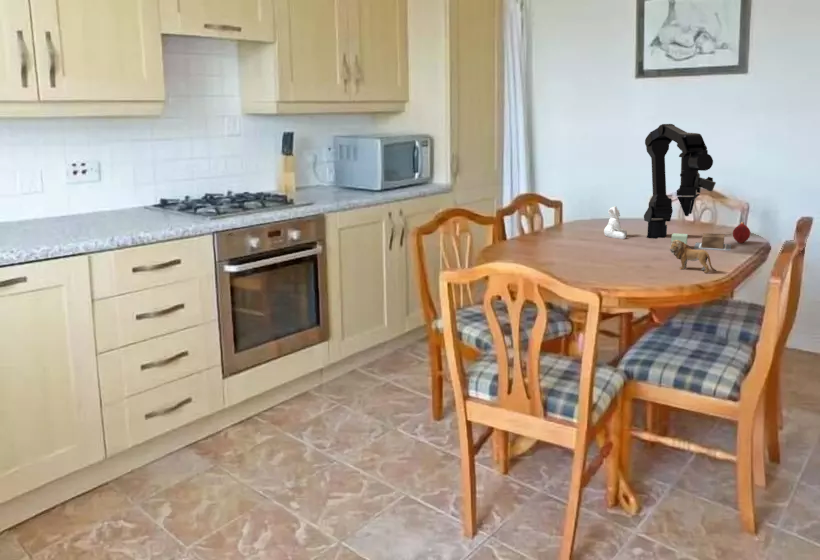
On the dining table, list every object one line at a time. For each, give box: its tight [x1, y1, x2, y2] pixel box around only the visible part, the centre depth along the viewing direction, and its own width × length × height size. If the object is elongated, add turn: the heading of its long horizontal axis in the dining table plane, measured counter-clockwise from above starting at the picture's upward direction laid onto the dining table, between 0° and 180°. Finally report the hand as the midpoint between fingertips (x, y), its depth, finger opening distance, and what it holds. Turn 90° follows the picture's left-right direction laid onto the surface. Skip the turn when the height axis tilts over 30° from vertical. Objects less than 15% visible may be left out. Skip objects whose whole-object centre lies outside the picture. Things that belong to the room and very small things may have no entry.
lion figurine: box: [669, 240, 717, 274], centre depth 225 cm, size 15×5×9 cm, turn 50°
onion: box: [732, 221, 751, 244], centre depth 262 cm, size 6×6×8 cm
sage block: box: [670, 232, 688, 245], centre depth 257 cm, size 5×5×5 cm
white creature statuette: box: [603, 205, 628, 240], centre depth 281 cm, size 10×9×12 cm
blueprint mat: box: [693, 242, 732, 252], centre depth 258 cm, size 12×12×1 cm
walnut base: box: [701, 232, 725, 249], centre depth 257 cm, size 7×7×4 cm
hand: (688, 215), depth 254 cm, fingers open, 9 cm apart
